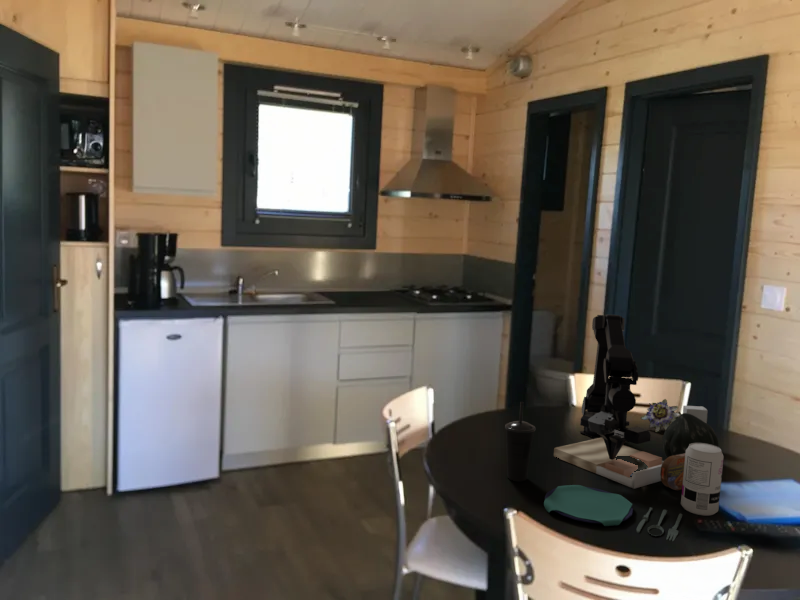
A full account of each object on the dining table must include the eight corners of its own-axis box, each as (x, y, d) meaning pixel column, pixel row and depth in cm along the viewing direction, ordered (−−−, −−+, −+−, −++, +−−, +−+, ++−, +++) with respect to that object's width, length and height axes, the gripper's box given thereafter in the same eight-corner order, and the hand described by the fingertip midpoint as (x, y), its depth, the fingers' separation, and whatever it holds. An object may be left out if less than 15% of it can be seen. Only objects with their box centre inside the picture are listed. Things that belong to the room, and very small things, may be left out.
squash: (729, 442, 203) (694, 398, 205) (728, 459, 190) (691, 413, 192) (686, 466, 209) (653, 424, 211) (682, 485, 196) (647, 440, 198)
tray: (596, 473, 189) (597, 458, 188) (643, 460, 200) (644, 447, 200) (634, 488, 179) (635, 473, 179) (681, 474, 191) (682, 460, 190)
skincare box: (700, 444, 217) (703, 406, 216) (704, 449, 213) (708, 410, 212) (679, 443, 218) (683, 405, 216) (683, 447, 214) (687, 408, 212)
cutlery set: (559, 486, 179) (559, 477, 179) (686, 518, 164) (687, 508, 164) (532, 514, 162) (532, 505, 162) (671, 552, 147) (672, 542, 147)
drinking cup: (534, 475, 186) (539, 400, 183) (529, 485, 179) (534, 407, 176) (505, 470, 188) (509, 396, 186) (499, 480, 181) (503, 403, 179)
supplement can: (674, 502, 172) (679, 441, 170) (707, 502, 172) (712, 442, 171) (690, 516, 164) (696, 453, 162) (725, 516, 164) (731, 453, 163)
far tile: (628, 463, 196) (629, 454, 196) (642, 460, 199) (643, 451, 199) (647, 470, 191) (648, 461, 191) (661, 466, 195) (662, 457, 194)
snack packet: (666, 492, 178) (669, 459, 177) (656, 488, 181) (659, 455, 180) (707, 484, 185) (711, 452, 184) (697, 479, 187) (700, 448, 186)
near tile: (604, 471, 189) (605, 462, 189) (618, 467, 192) (619, 458, 192) (623, 479, 184) (623, 469, 184) (637, 474, 188) (638, 465, 187)
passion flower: (656, 448, 230) (635, 416, 230) (661, 433, 239) (641, 403, 239) (688, 435, 223) (666, 403, 224) (692, 421, 233) (672, 389, 233)
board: (553, 456, 201) (554, 447, 201) (600, 445, 213) (601, 437, 212) (596, 473, 189) (596, 464, 189) (643, 460, 200) (643, 452, 200)
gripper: (568, 397, 191) (564, 453, 193) (626, 414, 176) (621, 475, 178) (596, 392, 197) (591, 447, 199) (654, 409, 182) (649, 468, 184)
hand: (611, 459), depth 190 cm, fingers closed
